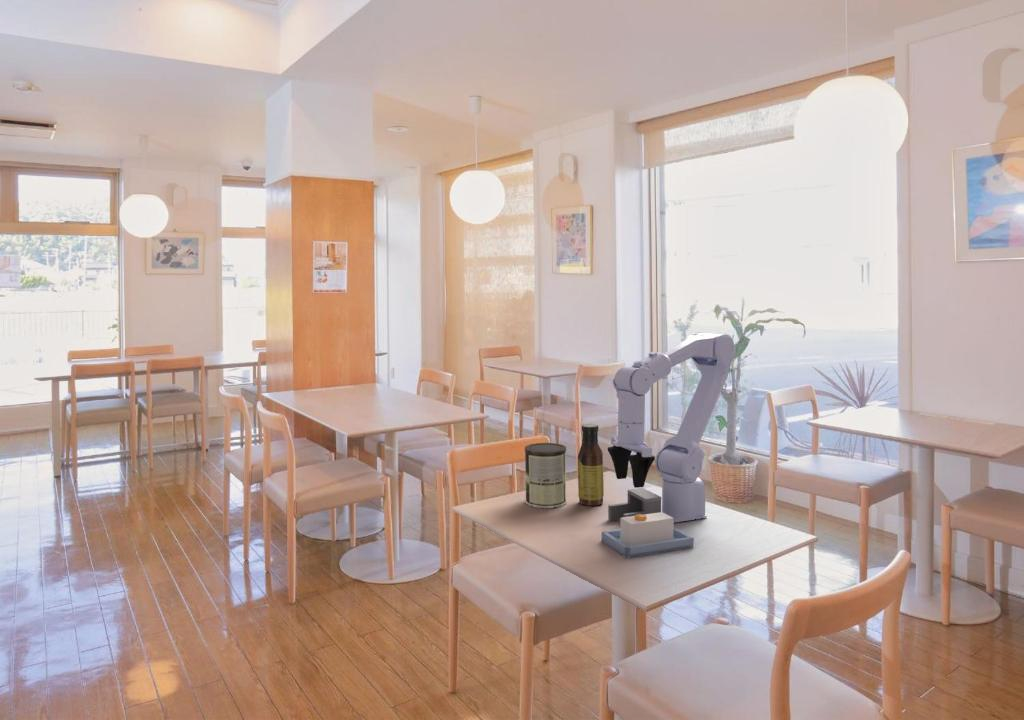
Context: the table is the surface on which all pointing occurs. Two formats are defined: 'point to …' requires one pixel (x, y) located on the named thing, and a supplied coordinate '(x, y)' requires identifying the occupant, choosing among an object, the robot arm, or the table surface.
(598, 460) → the sauce bottle
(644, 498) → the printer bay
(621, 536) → the white block with knob
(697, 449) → the robot arm
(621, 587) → the table surface
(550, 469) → the coffee can
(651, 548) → the tray
